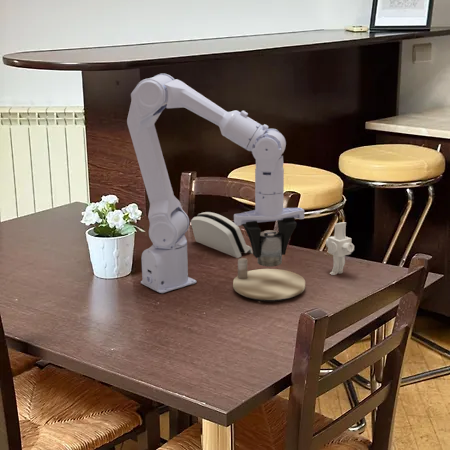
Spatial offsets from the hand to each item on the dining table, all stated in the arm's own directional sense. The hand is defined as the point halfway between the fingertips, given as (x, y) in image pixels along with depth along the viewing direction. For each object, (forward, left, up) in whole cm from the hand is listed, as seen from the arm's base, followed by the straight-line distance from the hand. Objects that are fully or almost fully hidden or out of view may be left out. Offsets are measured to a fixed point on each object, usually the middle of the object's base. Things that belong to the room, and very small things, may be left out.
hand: (269, 254), depth 160 cm
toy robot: (+18, -3, -8) cm, 20 cm away
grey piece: (+9, +28, -8) cm, 31 cm away
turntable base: (0, 0, -8) cm, 8 cm away
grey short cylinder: (0, 0, -2) cm, 2 cm away
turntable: (0, 0, -8) cm, 8 cm away
